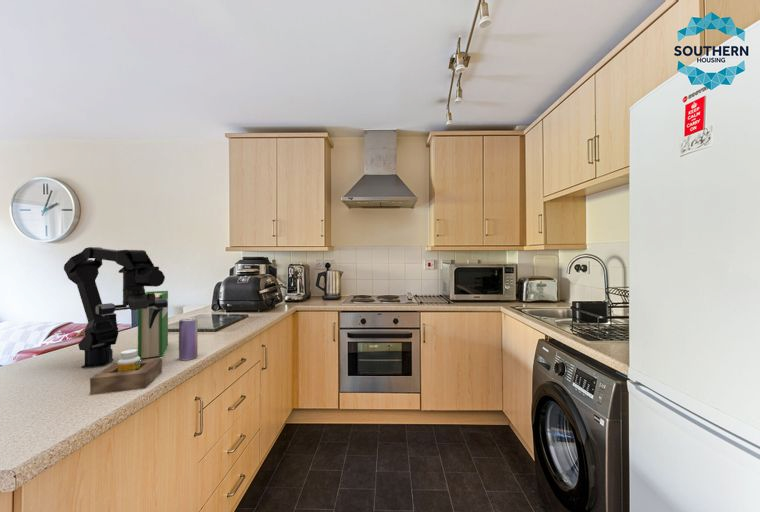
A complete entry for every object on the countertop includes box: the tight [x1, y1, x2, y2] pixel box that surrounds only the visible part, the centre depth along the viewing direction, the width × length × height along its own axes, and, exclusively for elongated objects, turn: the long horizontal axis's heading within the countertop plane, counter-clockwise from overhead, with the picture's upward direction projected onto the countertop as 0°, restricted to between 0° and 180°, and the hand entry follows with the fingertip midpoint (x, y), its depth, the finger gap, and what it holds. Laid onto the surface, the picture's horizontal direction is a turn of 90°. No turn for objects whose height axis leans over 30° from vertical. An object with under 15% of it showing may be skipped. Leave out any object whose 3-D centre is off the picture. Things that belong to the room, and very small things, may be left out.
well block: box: [89, 358, 163, 395], centre depth 92 cm, size 13×13×4 cm
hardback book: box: [137, 290, 169, 360], centre depth 121 cm, size 18×7×24 cm, turn 30°
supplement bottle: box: [117, 348, 140, 372], centre depth 92 cm, size 5×5×10 cm
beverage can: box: [178, 317, 199, 361], centre depth 114 cm, size 6×6×15 cm
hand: (133, 330), depth 104 cm, fingers open, 9 cm apart
